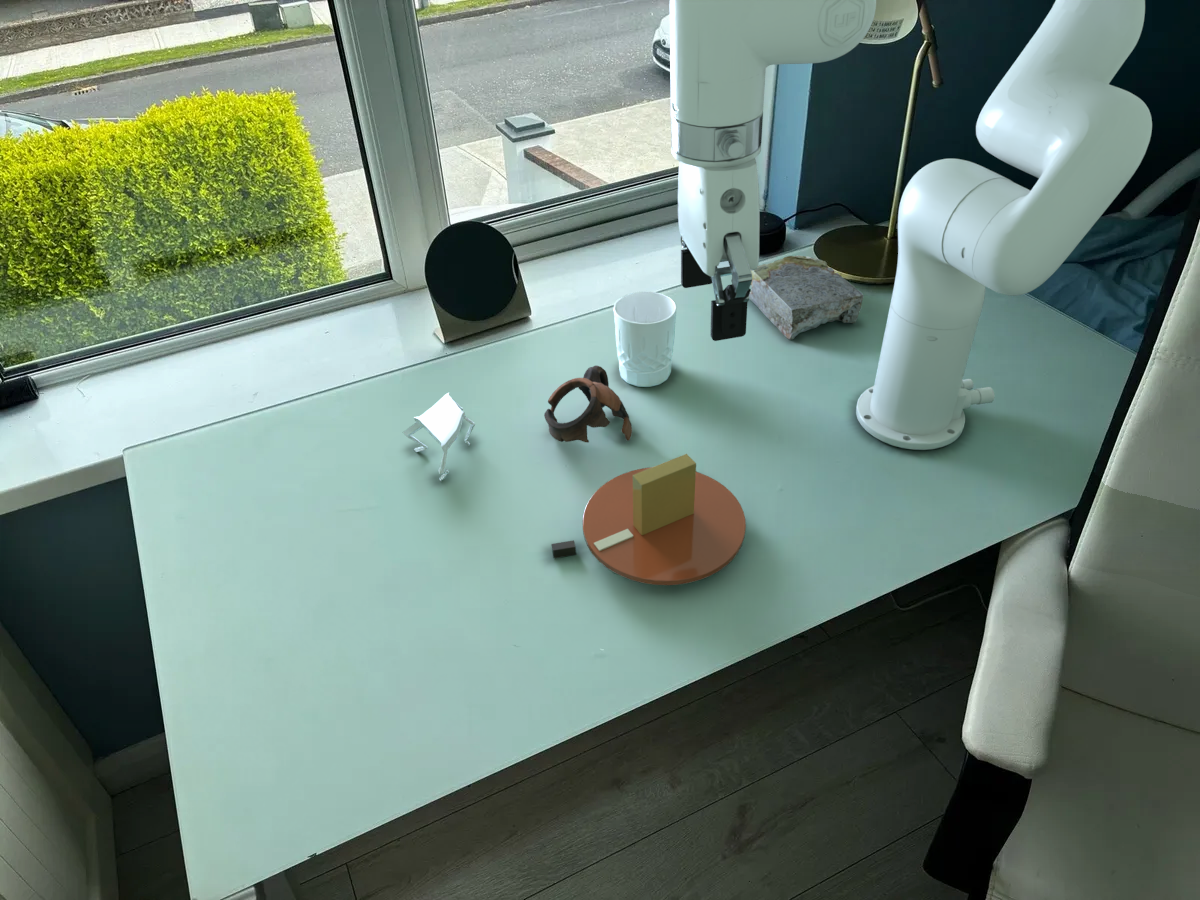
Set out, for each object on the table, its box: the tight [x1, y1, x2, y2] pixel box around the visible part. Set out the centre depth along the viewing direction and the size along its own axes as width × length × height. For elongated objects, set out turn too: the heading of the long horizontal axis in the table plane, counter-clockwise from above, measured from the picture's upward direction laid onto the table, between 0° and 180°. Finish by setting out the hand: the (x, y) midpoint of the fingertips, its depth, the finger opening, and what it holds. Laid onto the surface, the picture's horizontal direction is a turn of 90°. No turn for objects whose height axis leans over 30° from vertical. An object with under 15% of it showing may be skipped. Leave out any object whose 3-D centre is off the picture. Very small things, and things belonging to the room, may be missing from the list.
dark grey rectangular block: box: [551, 540, 577, 559], centre depth 95 cm, size 17×10×2 cm, turn 101°
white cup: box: [613, 290, 678, 388], centre depth 116 cm, size 8×8×10 cm
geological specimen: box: [749, 255, 864, 341], centre depth 128 cm, size 11×6×15 cm
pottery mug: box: [543, 365, 633, 444], centre depth 109 cm, size 12×10×8 cm
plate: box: [581, 453, 747, 586], centre depth 92 cm, size 17×17×8 cm
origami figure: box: [402, 391, 476, 482], centre depth 106 cm, size 12×8×5 cm
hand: (712, 309), depth 86 cm, fingers open, 9 cm apart
